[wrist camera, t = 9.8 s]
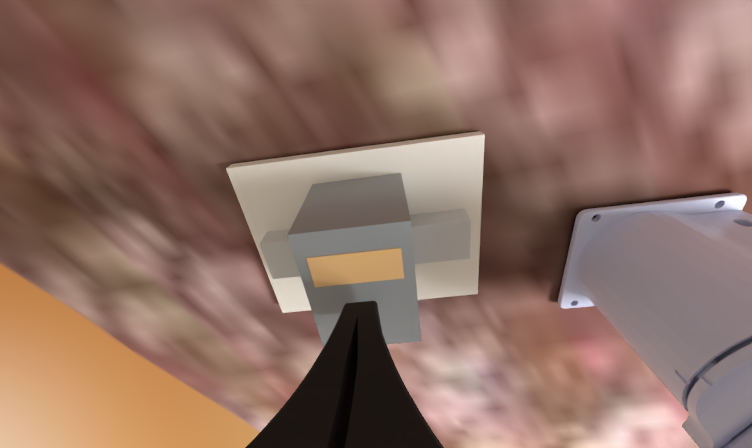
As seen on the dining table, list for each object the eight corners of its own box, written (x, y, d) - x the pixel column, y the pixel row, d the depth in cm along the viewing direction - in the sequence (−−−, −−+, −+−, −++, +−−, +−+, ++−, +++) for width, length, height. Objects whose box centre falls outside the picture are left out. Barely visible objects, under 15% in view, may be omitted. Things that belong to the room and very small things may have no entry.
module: (400, 172, 17) (411, 221, 12) (410, 272, 20) (421, 342, 15) (312, 184, 17) (286, 235, 12) (336, 280, 20) (324, 350, 15)
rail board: (480, 130, 16) (493, 141, 14) (474, 286, 22) (483, 308, 20) (231, 163, 17) (213, 177, 15) (285, 304, 22) (277, 328, 21)
